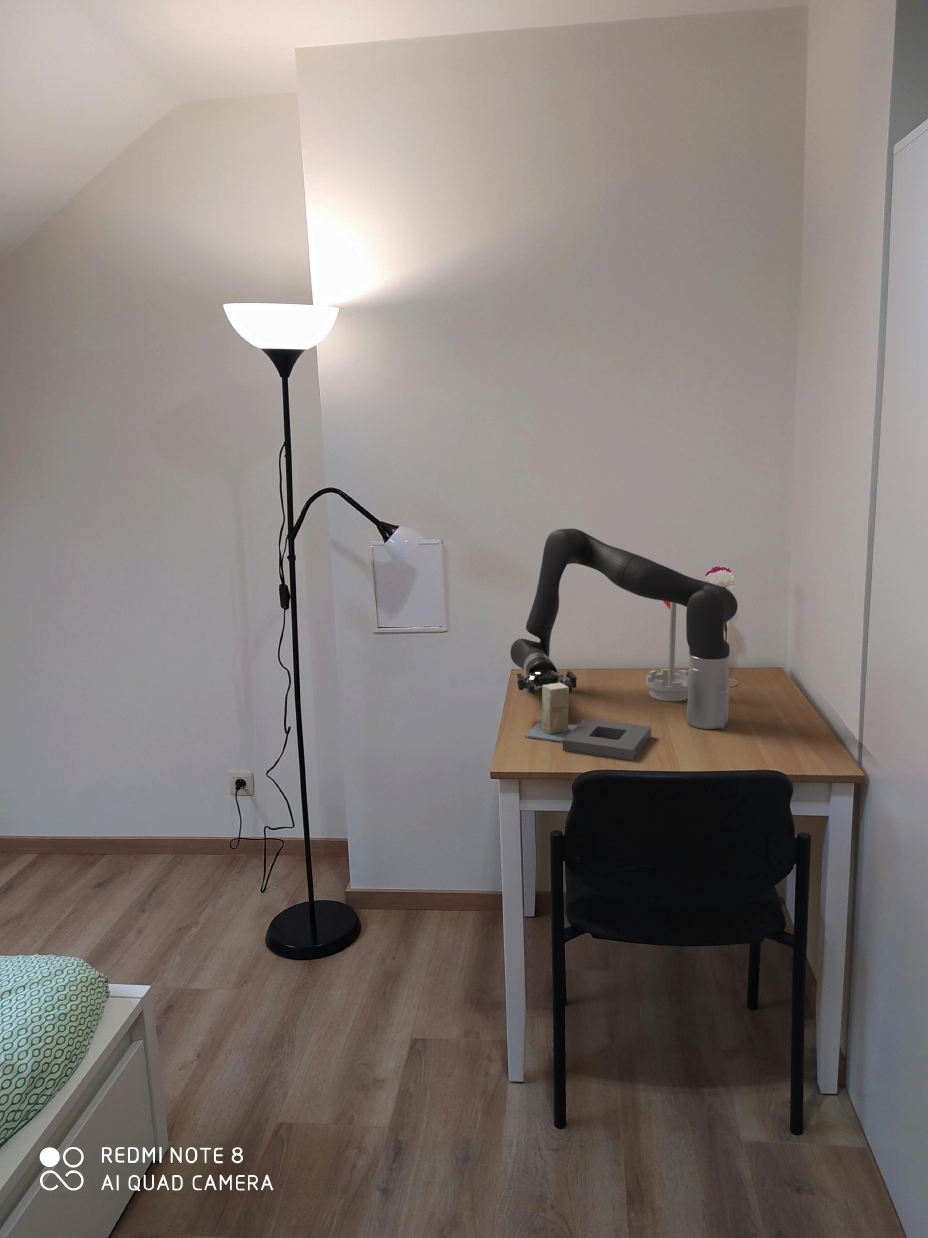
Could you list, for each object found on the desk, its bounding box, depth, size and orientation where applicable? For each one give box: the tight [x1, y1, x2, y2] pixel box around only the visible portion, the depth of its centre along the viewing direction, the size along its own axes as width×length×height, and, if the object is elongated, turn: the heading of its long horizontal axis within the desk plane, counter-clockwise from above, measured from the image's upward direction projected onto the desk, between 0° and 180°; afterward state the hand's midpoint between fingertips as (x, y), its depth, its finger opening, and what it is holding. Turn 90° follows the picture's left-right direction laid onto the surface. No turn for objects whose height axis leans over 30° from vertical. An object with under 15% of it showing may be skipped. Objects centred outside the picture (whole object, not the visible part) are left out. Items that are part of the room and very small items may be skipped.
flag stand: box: [645, 601, 689, 702], centre depth 239 cm, size 13×13×30 cm
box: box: [541, 683, 570, 734], centre depth 215 cm, size 5×4×11 cm
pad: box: [524, 720, 578, 744], centre depth 216 cm, size 10×11×1 cm
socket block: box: [562, 717, 652, 761], centre depth 208 cm, size 16×16×2 cm
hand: (551, 689), depth 216 cm, fingers open, 8 cm apart
